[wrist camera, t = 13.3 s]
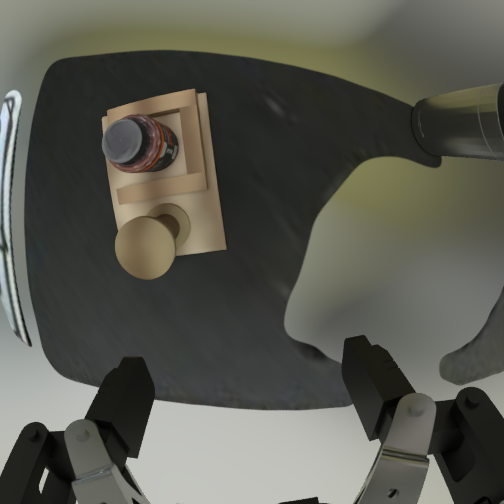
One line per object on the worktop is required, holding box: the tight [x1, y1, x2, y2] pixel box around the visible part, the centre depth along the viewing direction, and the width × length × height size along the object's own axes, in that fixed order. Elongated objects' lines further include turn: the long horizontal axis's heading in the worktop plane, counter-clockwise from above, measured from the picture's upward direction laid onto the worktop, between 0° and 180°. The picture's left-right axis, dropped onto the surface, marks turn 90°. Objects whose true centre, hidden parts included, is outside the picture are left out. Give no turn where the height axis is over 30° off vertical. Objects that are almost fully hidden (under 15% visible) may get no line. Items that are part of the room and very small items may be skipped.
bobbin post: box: [115, 203, 191, 279], centre depth 30 cm, size 6×6×10 cm
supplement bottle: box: [102, 114, 179, 173], centre depth 26 cm, size 6×6×11 cm
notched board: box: [102, 89, 227, 256], centre depth 32 cm, size 14×20×4 cm
